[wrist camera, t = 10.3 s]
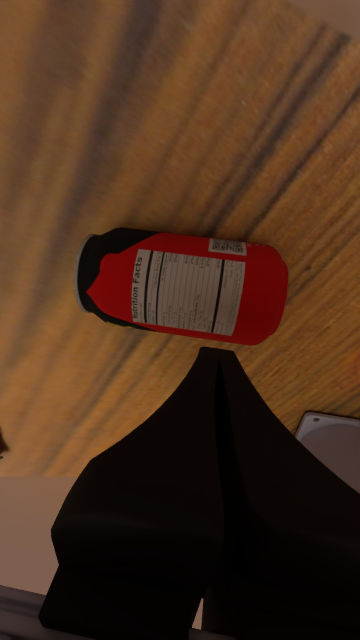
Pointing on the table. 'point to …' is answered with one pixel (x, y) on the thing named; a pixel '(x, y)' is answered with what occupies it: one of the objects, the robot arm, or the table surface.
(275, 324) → the beverage can
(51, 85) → the table surface
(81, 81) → the table surface
